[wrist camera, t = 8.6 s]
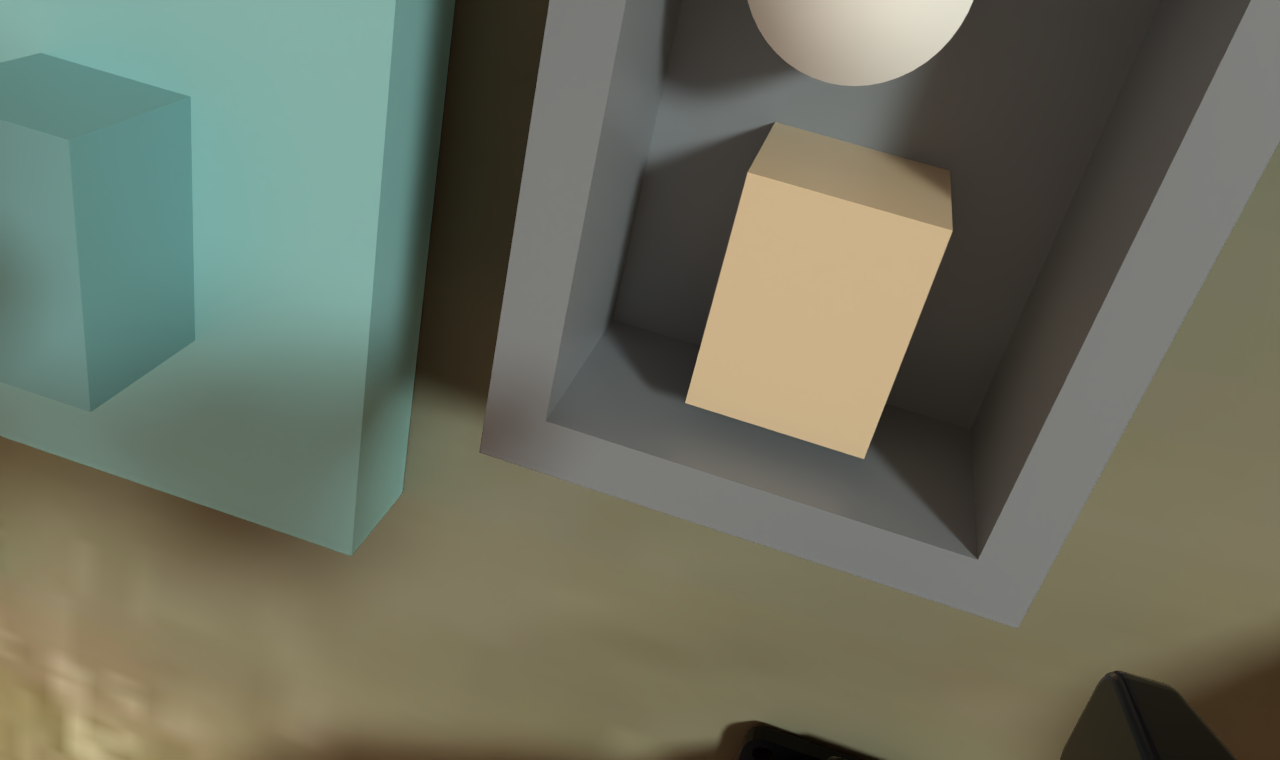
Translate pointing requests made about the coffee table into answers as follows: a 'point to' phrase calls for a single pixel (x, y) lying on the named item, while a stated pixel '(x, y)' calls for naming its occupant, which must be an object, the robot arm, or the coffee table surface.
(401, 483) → the lid
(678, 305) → the storage box
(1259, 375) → the coffee table surface
